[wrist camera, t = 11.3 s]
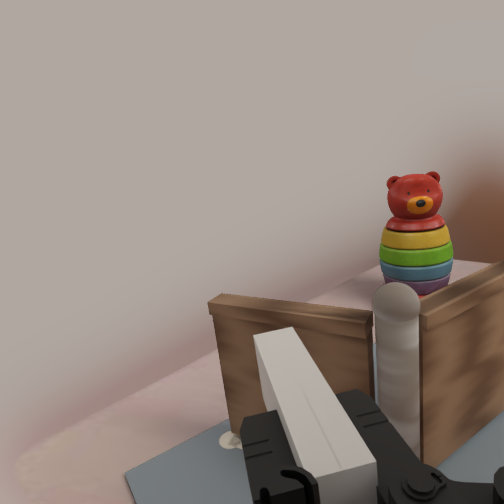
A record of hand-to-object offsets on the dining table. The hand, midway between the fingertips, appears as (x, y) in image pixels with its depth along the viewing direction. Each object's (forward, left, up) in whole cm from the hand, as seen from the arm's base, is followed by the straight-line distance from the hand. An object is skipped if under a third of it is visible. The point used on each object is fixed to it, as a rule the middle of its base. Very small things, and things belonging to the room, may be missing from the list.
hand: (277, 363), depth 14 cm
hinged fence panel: (-10, -7, -15) cm, 19 cm away
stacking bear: (-43, -7, -16) cm, 46 cm away
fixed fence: (-17, +3, -16) cm, 24 cm away
